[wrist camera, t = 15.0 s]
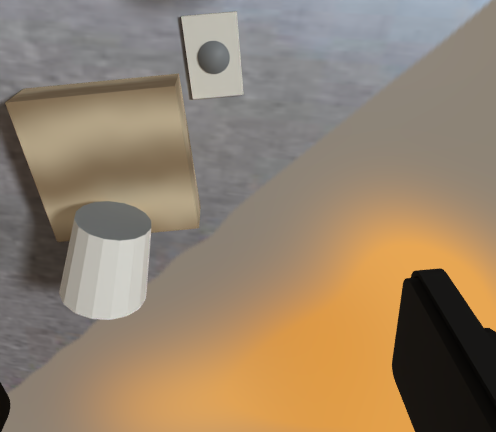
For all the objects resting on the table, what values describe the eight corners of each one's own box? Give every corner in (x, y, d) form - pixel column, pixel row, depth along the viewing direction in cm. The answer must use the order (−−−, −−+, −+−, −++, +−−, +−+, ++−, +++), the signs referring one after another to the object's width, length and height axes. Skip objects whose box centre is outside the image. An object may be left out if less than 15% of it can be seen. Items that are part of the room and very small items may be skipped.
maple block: (25, 87, 35) (5, 102, 31) (179, 71, 35) (174, 85, 32) (70, 217, 41) (57, 242, 38) (200, 204, 41) (198, 227, 38)
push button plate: (181, 16, 32) (180, 16, 32) (236, 11, 32) (236, 11, 32) (193, 98, 35) (192, 99, 35) (243, 93, 35) (243, 95, 35)
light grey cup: (49, 232, 30) (45, 311, 33) (151, 254, 31) (136, 328, 34) (82, 190, 36) (75, 260, 39) (166, 208, 37) (153, 275, 40)
